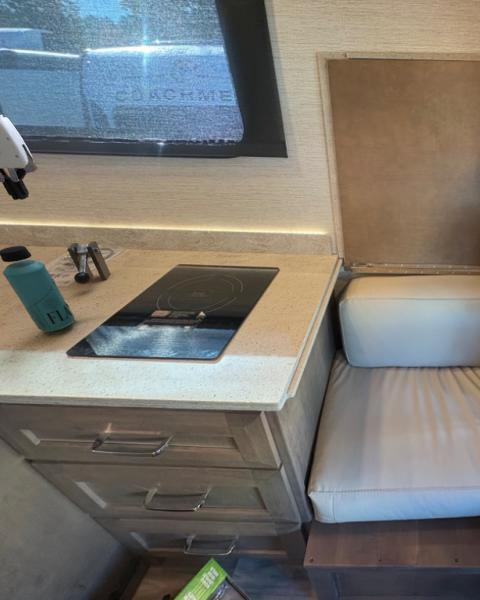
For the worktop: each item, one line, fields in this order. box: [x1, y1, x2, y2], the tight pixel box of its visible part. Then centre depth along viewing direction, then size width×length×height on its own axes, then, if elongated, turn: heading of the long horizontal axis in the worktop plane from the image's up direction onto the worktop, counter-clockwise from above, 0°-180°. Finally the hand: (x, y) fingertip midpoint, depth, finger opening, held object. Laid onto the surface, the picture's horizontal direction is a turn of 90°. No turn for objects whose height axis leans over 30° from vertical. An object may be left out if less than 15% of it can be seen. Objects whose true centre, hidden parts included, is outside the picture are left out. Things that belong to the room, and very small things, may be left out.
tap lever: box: [73, 243, 92, 285], centre depth 88 cm, size 12×3×3 cm, turn 24°
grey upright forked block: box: [66, 240, 111, 282], centre depth 92 cm, size 7×10×12 cm
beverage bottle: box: [0, 245, 75, 332], centre depth 71 cm, size 6×7×20 cm
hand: (21, 198), depth 78 cm, fingers closed
